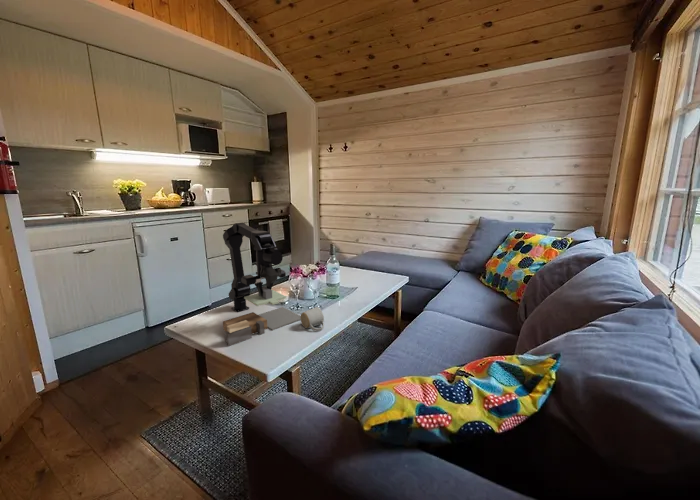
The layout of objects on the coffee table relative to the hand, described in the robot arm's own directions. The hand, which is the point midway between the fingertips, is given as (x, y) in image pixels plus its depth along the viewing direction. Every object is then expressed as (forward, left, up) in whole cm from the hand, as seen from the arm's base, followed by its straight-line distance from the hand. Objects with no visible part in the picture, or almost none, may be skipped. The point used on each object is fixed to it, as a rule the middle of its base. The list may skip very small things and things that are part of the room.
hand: (265, 295), depth 141 cm
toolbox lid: (+2, 0, -2) cm, 2 cm away
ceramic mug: (+19, +13, -13) cm, 26 cm away
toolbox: (+1, -12, -13) cm, 18 cm away
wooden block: (+7, -17, -8) cm, 20 cm away
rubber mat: (0, +6, -13) cm, 14 cm away
